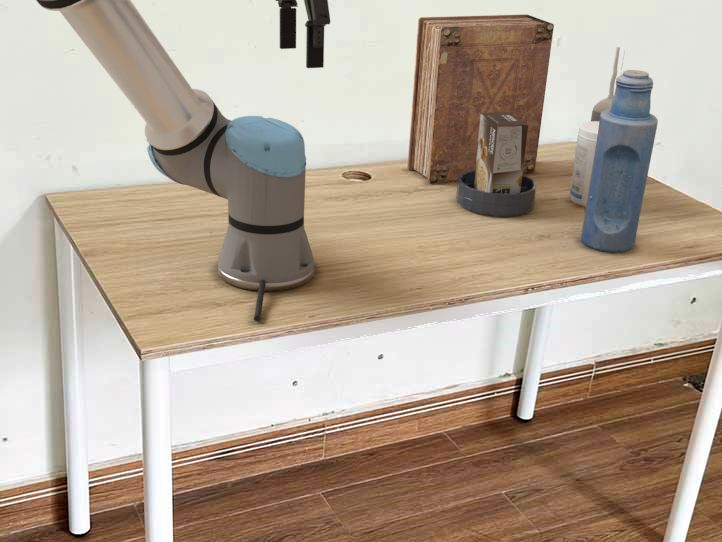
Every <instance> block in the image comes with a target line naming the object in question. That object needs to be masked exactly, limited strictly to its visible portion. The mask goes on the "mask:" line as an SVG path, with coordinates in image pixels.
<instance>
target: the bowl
mask: <svg viewBox="0 0 722 542" xmlns="http://www.w3.org/2000/svg"><path fill="white" fill-rule="evenodd" d="M474 181H475V170H471V171H467V172H464V173H462V174H461V175H460V176H459V177H458V181H457V185H456V197H455V199H456V202H457V204H458V205H459V206H461V207H462V208H463V209H466V210H468V211H470V212H473V213H476V214H478V215H482V216H483V215H484V216H490V217H499V218H500V217H515V216H520V215H524V214H527V213H529V212H531V211H532V210H533V209H534V207H535V202H536V195H537V189H538V188H537V187H538V184H537V183H536V180H534V179H533V178H531V177H530V176H527V175H524V174H522V182H521V190H520V193H513V194H498V193H490V192H484V191H480V190H477V189H474Z"/></svg>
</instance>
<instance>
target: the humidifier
mask: <svg viewBox="0 0 722 542" xmlns="http://www.w3.org/2000/svg"><path fill="white" fill-rule="evenodd" d="M620 49H621V47H620V46H616V48H615V54H614V60H613V67H612V75H611V78H610V81H609V92H608V95H607V97H606V98H603V99H601V100H599V101H598V102H597V103H596V104H595V105H594V106H593V108H592V111H591V117H590V122H591V121H600V115H601V113H602V112H603V111H604V110H608V109H611V105H612V101H613V98H614V94H615V85H616V79H617V77H618V64H619V58H620V57H619V56H620ZM625 53H626V50H624V51H623V54H625ZM624 59H625V55H623V57H622V60H624ZM623 64H624V61H622V63H621V67H620V70H622V68H623V66H624V65H623Z"/></svg>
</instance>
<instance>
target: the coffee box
mask: <svg viewBox="0 0 722 542" xmlns="http://www.w3.org/2000/svg"><path fill="white" fill-rule="evenodd" d="M527 132H528V125H527V124H526V123H525V122H523V121H522V120H520V119H519V118H518V117H516V116H515V115H513V114H512V113H511V112H492V113H481V117H480V127H479V138H478V149H477V160H476V170H475V181H474V189H477V190H480V191H484V192H490V193H498V194H513V193H520V190H521V182H522V175H524V174H523V166H524V157H525V149H526V141H527Z"/></svg>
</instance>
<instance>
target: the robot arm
mask: <svg viewBox="0 0 722 542" xmlns="http://www.w3.org/2000/svg"><path fill="white" fill-rule="evenodd" d="M35 1H36V2H37V4H39V6H40V7H41V8H43V9H44V10H48V11H53V12H60V14H61V16H63V18H64V19H65V20H66V21H67V23H68V24H69V25H70V27H71V28H72V29H73V30H74V32H75V33H76V34H77V35H78V37H79V39H81V41H82V42H83V43H84V45H85V46H86V47H87V49H88V50H89V51H90V52H91V54H92V55H93V56H94V58H95V59H96V60H97V61H98V63H99V64H100V66H101V67H102V68H103V70H105V72H106V73H107V74H108V75H109V77H110V78H111V79H112V80H113V82H114V83H115V84H116V86H117V87H118V88H119V90H120V91H121V92H122V93H123V95H124V96H125V97H126V98H127V100H128V101H129V102H130V104H131V105H132V107H133V108H134V109H135V110H136V111H137V113H138V114H139V115H140V117H141V118H142V119H143V120H144V122H145V126H144V134H145V138H146V142H147V143H148V146H147V147H146V150H147V154H148V157H149V159H150V162H151V163H152V165H153V166H154V167H155V169H156V170H157V171H158V172H159V173H160V174H161V175H163V176H164V177H166V178H168V179H170V180H171V181H173V182H175V183H177V184H180V185H183V186H188V187H191V188H194V189H196V190H200V191H202V192H206V193H209V194H212V195H215V196H217V197H219V198H223V199H225V200H227V212H228V213H227V214H228V215H227V217H228V220H227V221H228V223H227V224H228V225H227V229H226V232H225V235H224V238H223V240H222V241H223V242H222V244H221V248H220V251H219V254H218V258H217V274H218V276H219V277H220V279H222V280H223V281H224V282H225V283H227V284H229V285H231V286H234V287H237V288H240V289H243V290H244V289H245V290H250V291H257V296H256V297H257V298H256V303H255V311H254V314H253V315H254V316H253V321H255V322H260V320H261V316H262V310H263V304H264V296H265V292H276V291H277V292H278V291H279V292H280V291H286V290H291V289H295V288H298V287H301V286H304V285H306V284H308V283H309V282H310V281H311V280H312V279H313V278H314V277H315V272H316V270H315V268H316V267H315V266H316V265H315V257H314V255H313V251H312V248H311V245H310V242H309V239H308V235H307V232H306V229H305V203H306V202H305V201H306V199H305V197H306V171H307V169H306V167H307V156H306V145H305V139H304V137H303V134H302V133H301V132H300V131H299V129H297V128H296V127H295V126H293V125H291V124H290V123H288V122H286V121H283V120H280V119H278V118H273V117H264V116H262V115H243V116H239V117H236V118H233V119H232V120H231V119H228V118H227V117H225V116H224V115H223V114H222V112H221V110H220V109H219V108H218V106H217V105H216V103H215V102H214V101H213V99H212V98H211V96H210V95H209V94H208V92H205V91H204V90H201V89H198V88H192V86H191V84H190V83H189V82H188V81H187V79H186V78H185V76H184V75H183V74H182V72H181V70H180V69H179V68H178V66H177V65H176V63H175V62H174V61H173V59H172V58H171V56H170V55H169V54H168V52H167V51H166V49H165V48H164V46H163V45H162V43H161V42H160V41H159V39H158V38H157V36H156V35H155V33H154V32H153V30H152V29H151V27H150V26H149V24H148V23H147V22H146V20H145V19H144V17H143V16H142V15H141V13H140V12H139V9H137V7H136V6H135V5H134V3H133V1H132V0H35ZM275 2H277V4H278V7H279V49H280V50H289V49H291V50H292V49H293V50H294V49H297V8H298V7H299V5H298V1H297V0H275ZM303 2H304V7H305V12H306V16H307V20H306V22H305V23H304V26H305V28H306V42H305V44H306V45H305V46H306V47H305V48H306V49H305V50H306V51H305V52H306V53H305V56H306V57H305V58H306V59H305V67H306V69H320V68H322V69H323V68H324V67H325V66H324V64H325V63H324V60H325V27H326V26H327V25H331V15H330V8H329V7H330V6H329V0H303Z"/></svg>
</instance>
